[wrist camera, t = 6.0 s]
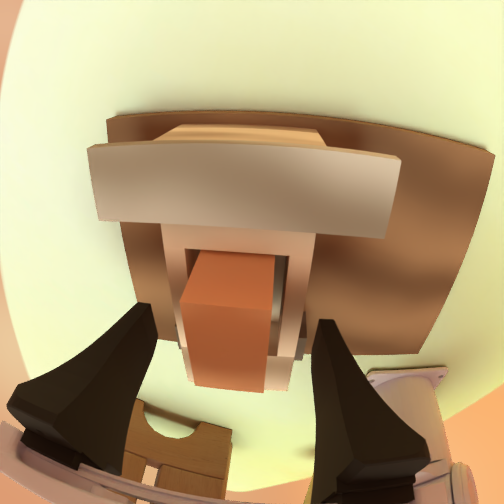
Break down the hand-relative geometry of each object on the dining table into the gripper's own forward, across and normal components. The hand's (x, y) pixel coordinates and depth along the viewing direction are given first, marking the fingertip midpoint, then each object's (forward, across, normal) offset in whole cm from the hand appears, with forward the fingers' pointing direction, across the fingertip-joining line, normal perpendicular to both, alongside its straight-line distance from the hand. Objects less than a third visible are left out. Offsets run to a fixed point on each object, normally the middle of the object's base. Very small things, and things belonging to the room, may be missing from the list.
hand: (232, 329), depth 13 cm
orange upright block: (+4, 0, 0) cm, 4 cm away
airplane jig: (+6, -3, 0) cm, 6 cm away
